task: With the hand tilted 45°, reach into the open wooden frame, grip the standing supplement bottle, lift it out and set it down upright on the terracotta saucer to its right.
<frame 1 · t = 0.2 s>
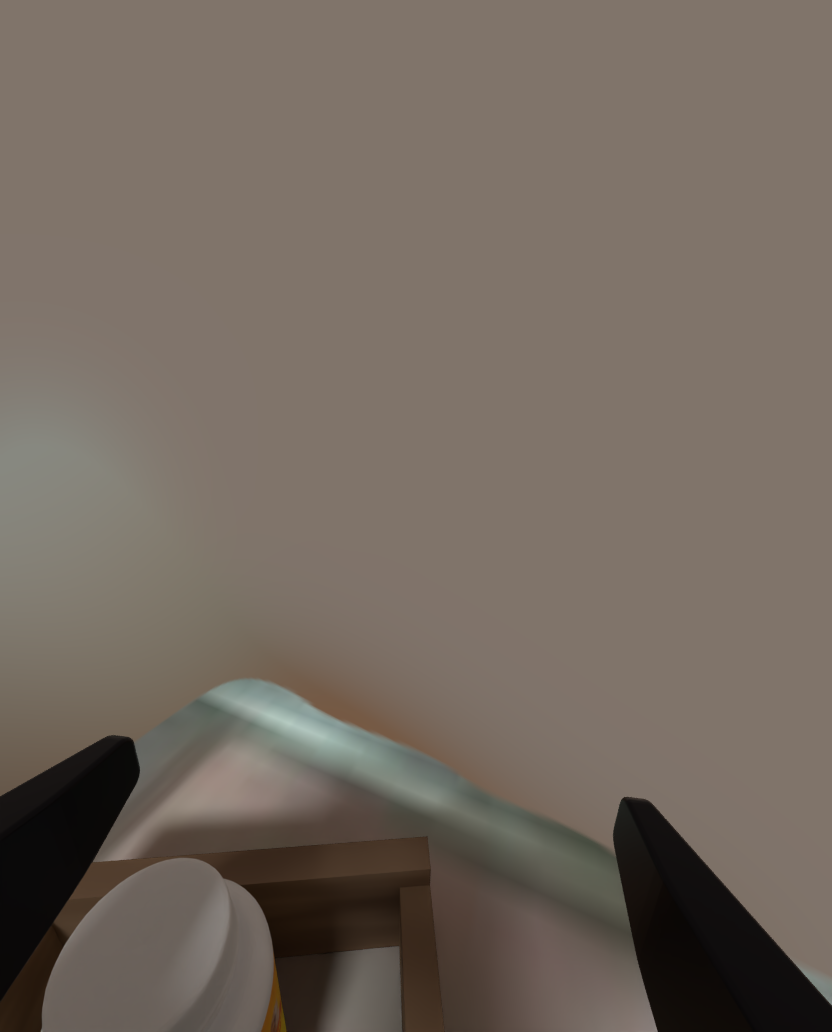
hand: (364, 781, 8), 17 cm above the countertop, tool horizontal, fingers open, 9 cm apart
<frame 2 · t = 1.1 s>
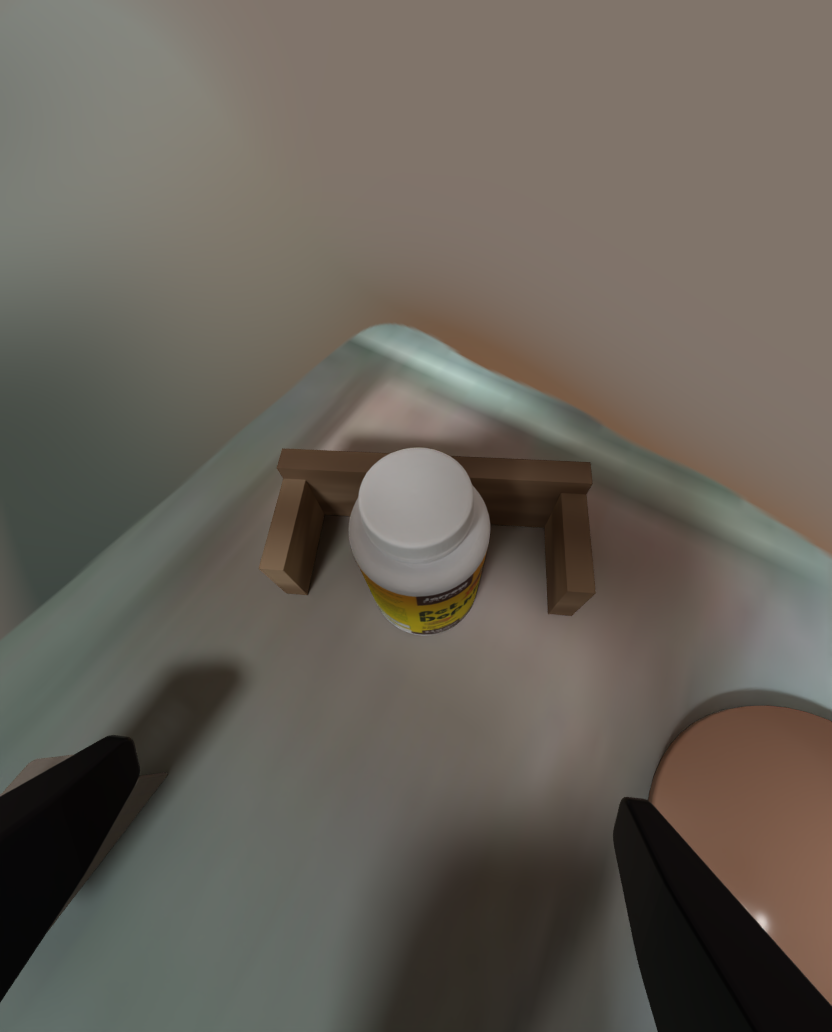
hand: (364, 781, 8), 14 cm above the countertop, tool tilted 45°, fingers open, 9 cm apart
supplement bottle: (426, 587, 24), on the countertop
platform: (97, 844, 20), on the countertop
open wooden frame: (426, 586, 24), on the countertop
terracotta saucer: (803, 869, 17), on the countertop
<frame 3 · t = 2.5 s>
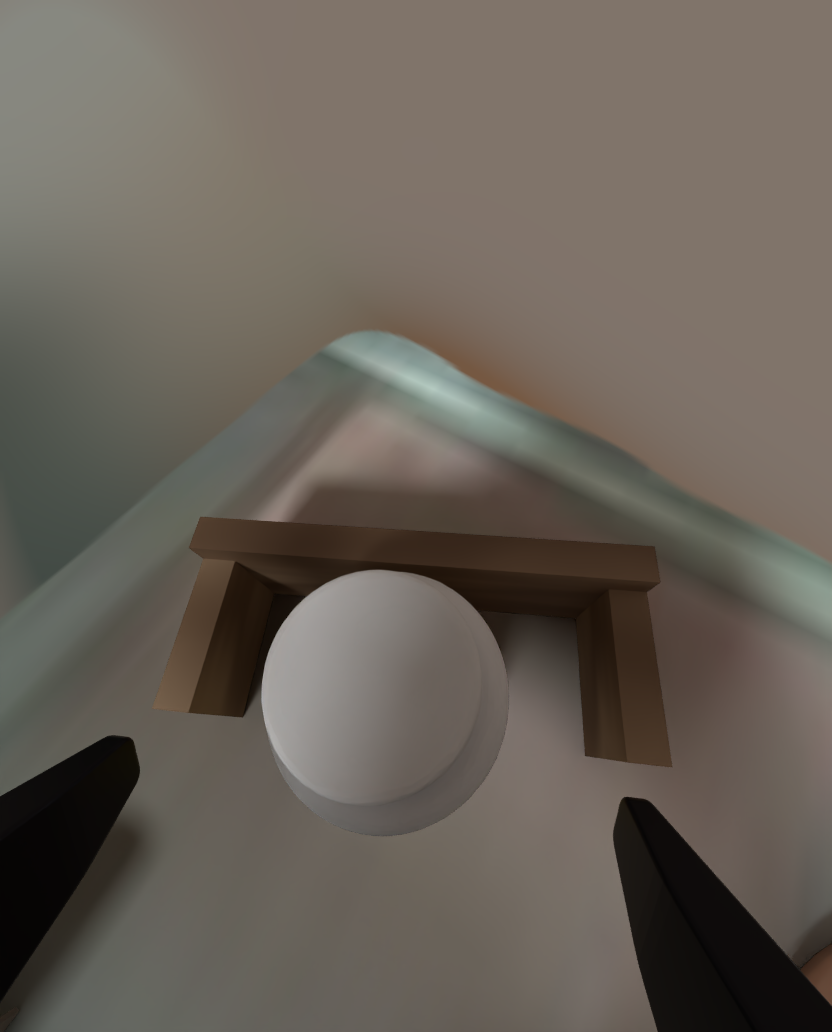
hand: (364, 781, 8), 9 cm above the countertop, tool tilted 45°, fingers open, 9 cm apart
supplement bottle: (410, 707, 17), on the countertop
open wooden frame: (410, 706, 17), on the countertop
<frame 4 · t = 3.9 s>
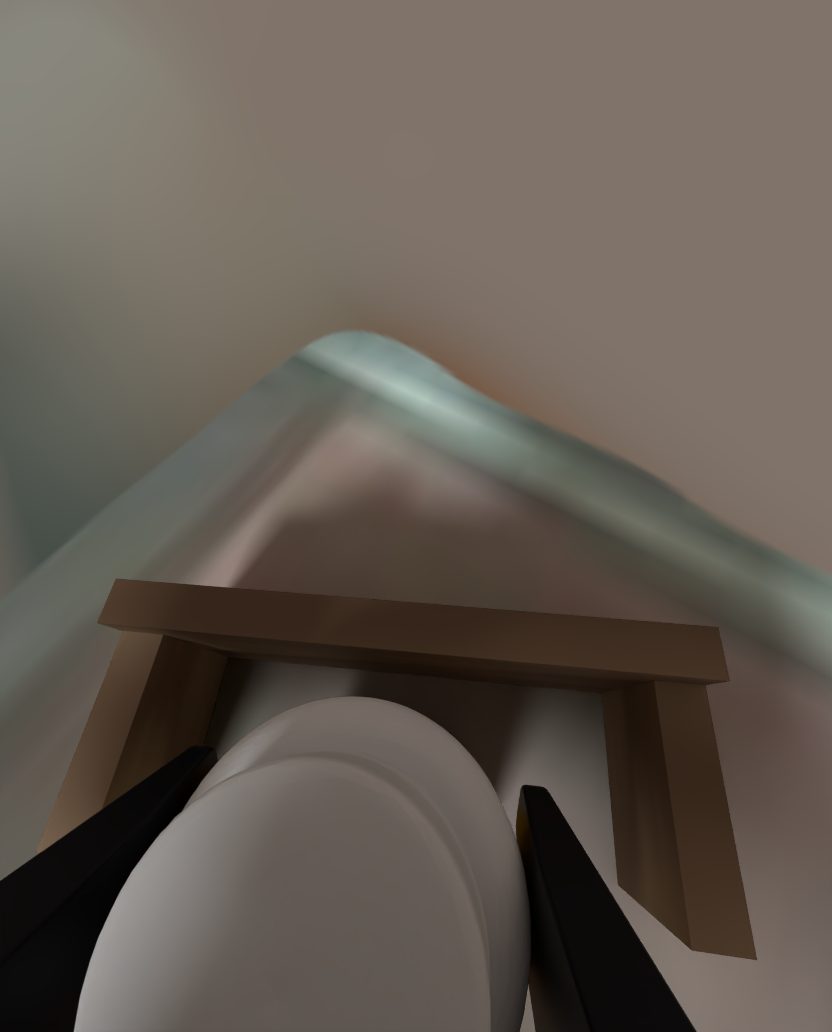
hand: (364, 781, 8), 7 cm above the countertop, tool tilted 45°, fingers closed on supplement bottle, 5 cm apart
supplement bottle: (393, 811, 13), on the countertop, touching gripper
open wooden frame: (392, 812, 13), on the countertop
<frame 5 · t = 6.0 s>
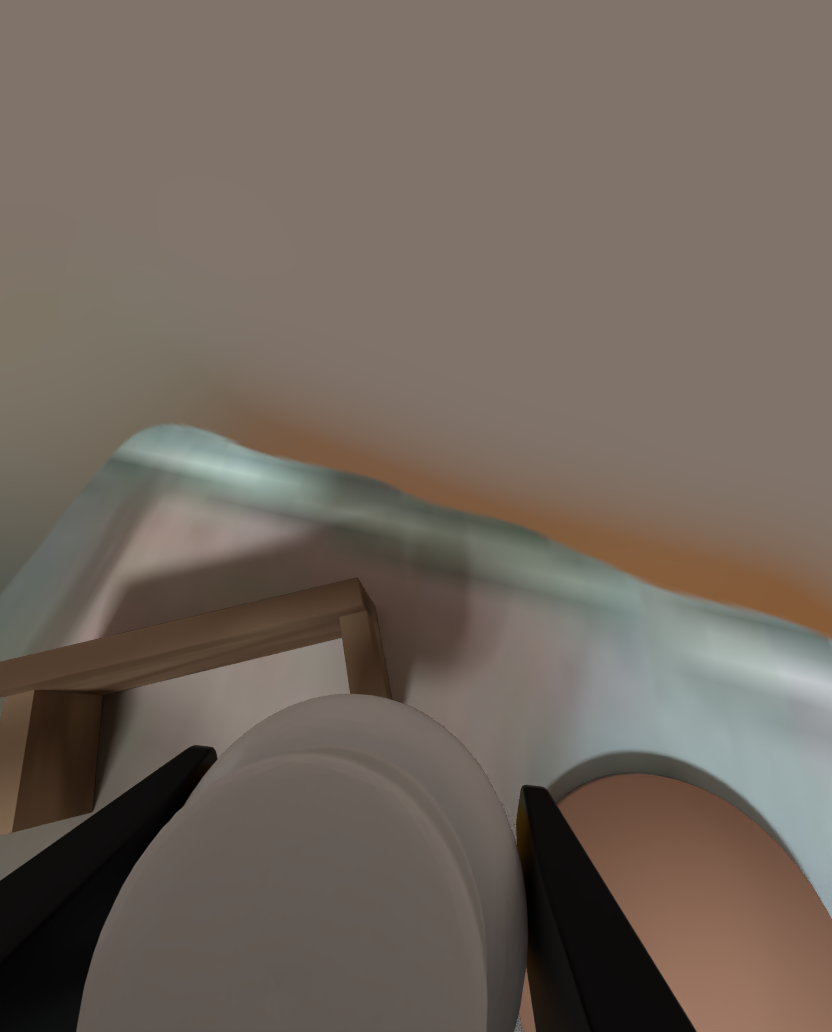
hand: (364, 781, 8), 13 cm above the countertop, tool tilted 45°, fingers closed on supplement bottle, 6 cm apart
supplement bottle: (392, 808, 13), point 6 cm above the countertop, touching gripper
open wooden frame: (234, 751, 20), on the countertop
terracotta saucer: (668, 957, 16), on the countertop
when the fingers open (9 cm above the countertop, at t = 8.4 s): supplement bottle stays where it is, resting on terracotta saucer.
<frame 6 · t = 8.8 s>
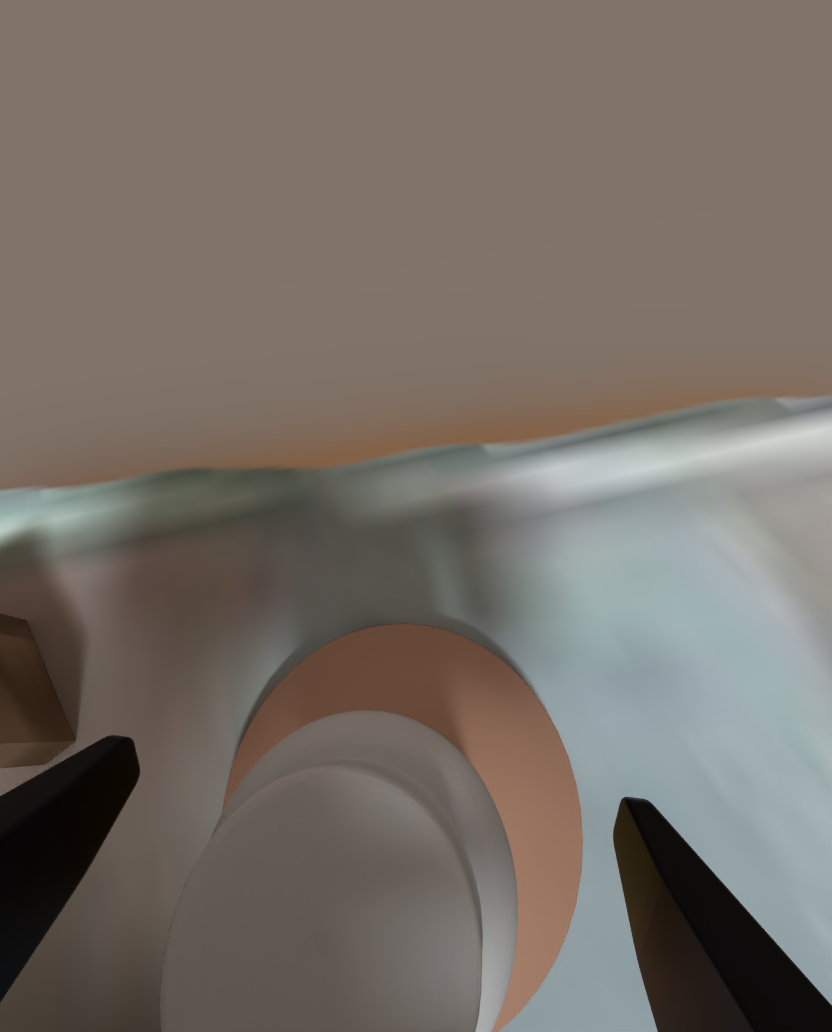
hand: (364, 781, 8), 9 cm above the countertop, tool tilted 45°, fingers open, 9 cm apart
supplement bottle: (398, 809, 14), point 1 cm above the countertop, touching terracotta saucer
terracotta saucer: (400, 800, 15), on the countertop
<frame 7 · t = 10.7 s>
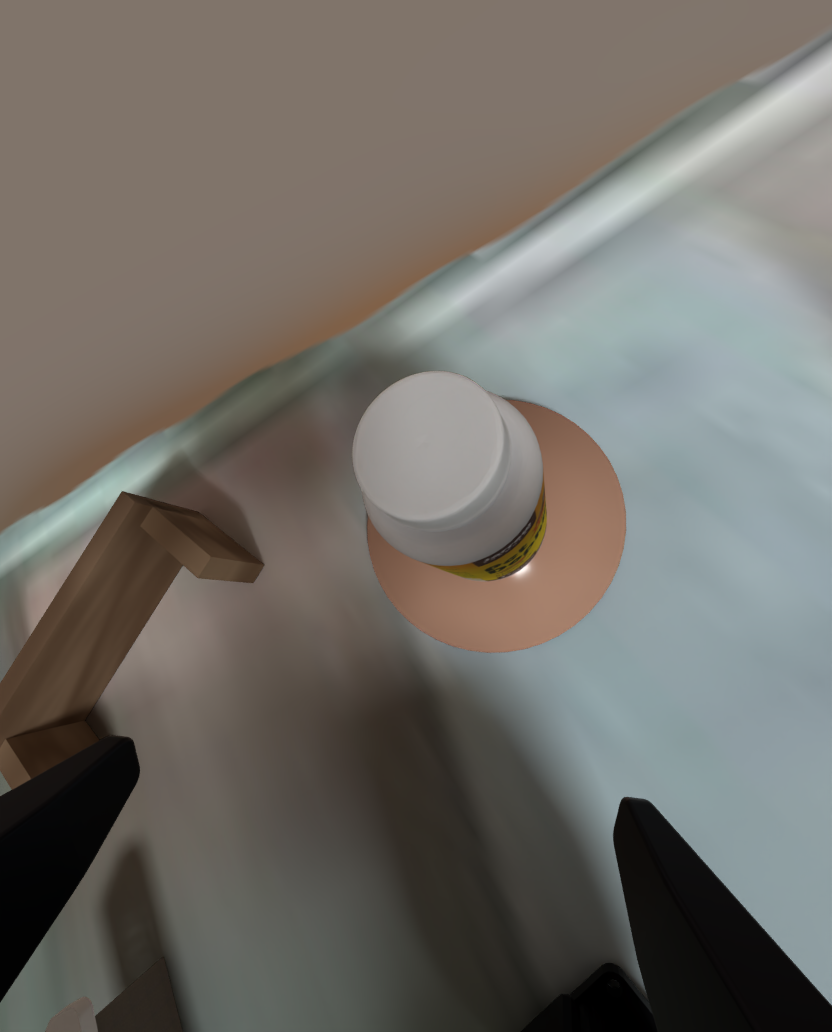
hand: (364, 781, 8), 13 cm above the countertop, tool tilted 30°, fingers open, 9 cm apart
supplement bottle: (486, 523, 20), point 1 cm above the countertop, touching terracotta saucer
open wooden frame: (181, 670, 25), on the countertop
terracotta saucer: (487, 522, 21), on the countertop
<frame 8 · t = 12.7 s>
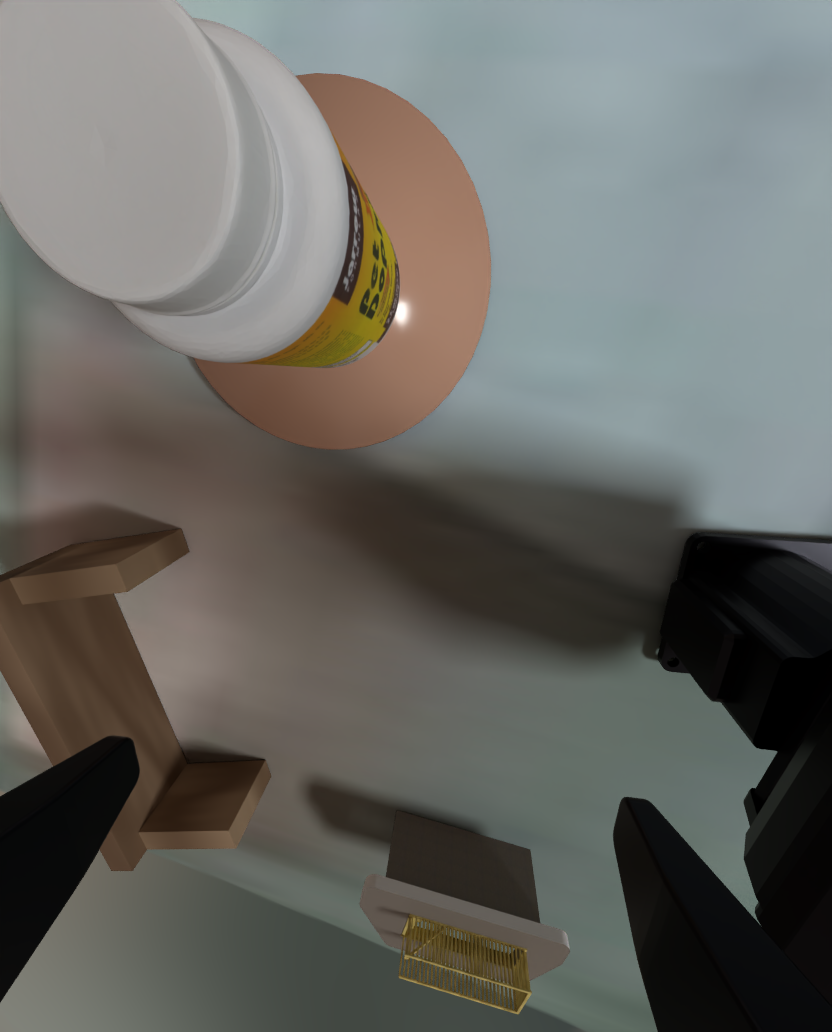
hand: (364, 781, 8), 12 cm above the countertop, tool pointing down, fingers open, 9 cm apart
supplement bottle: (329, 288, 16), point 1 cm above the countertop, touching terracotta saucer
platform: (458, 829, 25), on the countertop
open wooden frame: (213, 666, 23), on the countertop
terracotta saucer: (330, 288, 16), on the countertop
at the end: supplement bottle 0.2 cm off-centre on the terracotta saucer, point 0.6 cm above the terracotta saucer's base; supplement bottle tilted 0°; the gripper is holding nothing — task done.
